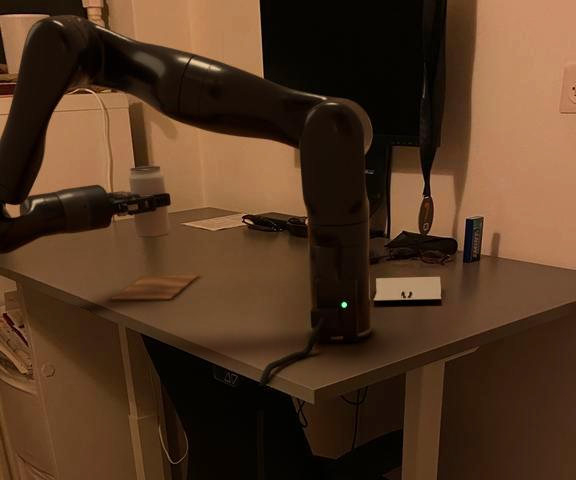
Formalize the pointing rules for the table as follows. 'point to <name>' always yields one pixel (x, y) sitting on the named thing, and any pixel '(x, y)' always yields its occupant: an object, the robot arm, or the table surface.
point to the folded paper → (408, 288)
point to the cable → (395, 254)
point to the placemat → (156, 288)
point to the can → (145, 184)
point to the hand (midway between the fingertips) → (159, 197)
